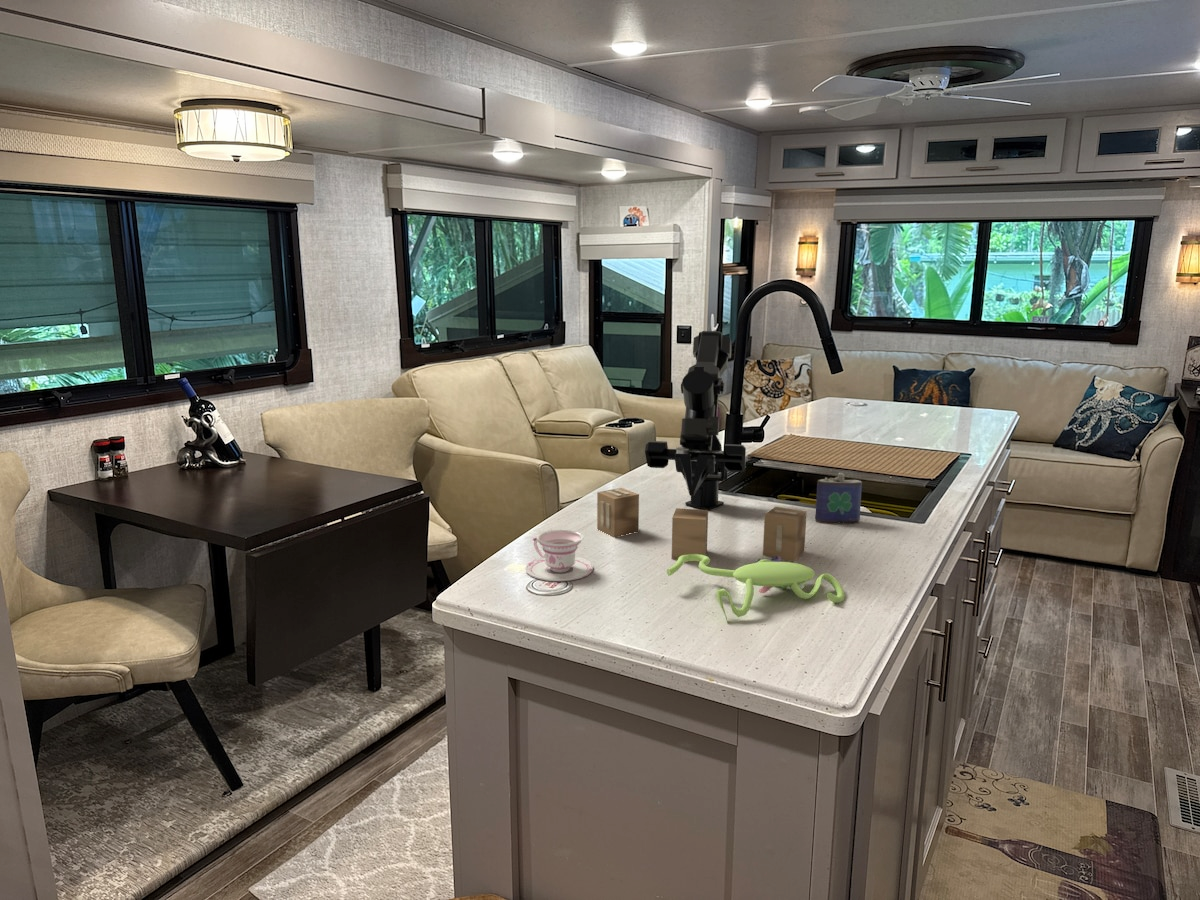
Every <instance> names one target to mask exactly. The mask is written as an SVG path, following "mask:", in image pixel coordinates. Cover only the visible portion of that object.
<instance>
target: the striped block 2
mask: <svg viewBox="0 0 1200 900" xmlns="http://www.w3.org/2000/svg"><path fill="white" fill-rule="evenodd" d="M763 519H764V520H763V521H764V522H763V540H762V541H763V543H762V544H763V545H762V556H763V557H768V558H771V557H773V556H777V557H781V560H784V561H789V562H795V561H796V560H797V559H799V558H800V557H801V555H803V554H804V553H805V547H806V546H805V545H806V528H807V510H801V509H794V508H787V507H781V506H774V507H773V508H772V509H770V510H769V511H768V512H766V513H765V514H764V518H763Z"/></svg>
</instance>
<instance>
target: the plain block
mask: <svg viewBox="0 0 1200 900" xmlns="http://www.w3.org/2000/svg"><path fill="white" fill-rule="evenodd" d="M671 519H672V521H671V523H672V524H671V533H672V534H671V560H677V559H678V558H679V557H680V556H682V555H687V554H699V555H704V556H707V552H708V535H709V534H708V532H709V531H708V528H709V527H708V525H709V510H706V509H698V508H697V509H694V508H680V507H679V508H678V507H676V508H675V510H674V512H673V515H672V518H671Z"/></svg>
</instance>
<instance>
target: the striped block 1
mask: <svg viewBox="0 0 1200 900" xmlns="http://www.w3.org/2000/svg"><path fill="white" fill-rule="evenodd" d="M596 495H597V497H596V500H597V501H596V507H597V509H596V511H597V513H596V514H597V515H596V516H597V519H596V522H597V523H596V530H597V529H598V530H597V531H599V530H600V531H599V532H601V531H602V532H601V533H603V532H604V533H603V534H605V533H606V535H607V534H608V535H607V536H609V535H610V537H612V538H614V537H615V538H619V537H618V536H620V537H622V536H621V535H624V536H627V535H626V534H629V533H633V534H635V533H634V532H638V533H639V527H640V526H639V521H640V520H639V519H640V516H639V515H640V512H639V511H640V494H639V493H637V492H634V491H631V490H628V489H625V488H623V487H619V488H612V489H608V490H602V491H597V494H596ZM629 535H630V534H629Z"/></svg>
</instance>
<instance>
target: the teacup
mask: <svg viewBox="0 0 1200 900" xmlns="http://www.w3.org/2000/svg"><path fill="white" fill-rule="evenodd" d="M584 537H585V536H584V534H582V533H580V532H577V531H573V530H569V529H568V530H566V529H565V530H564V529H553V530H551V529H550V530H546V531H542V532H539V533H537V534H536V536H535V537H534V538H532V540H533V541H534V542H533V546H534V549H535V551H536V552H537V554H538V555H539V556H540V557H539V558H537V559H536V558H535V559H533V560H532V561H530V562H529V563H527V564H526V567H525V572H526V574H528V575H529V576H530V577H531V578H535V579H537V580H541V581H547V582H549V581H550V582H569V581H575V580H579V579H582V578H585V577H587V576H589V575H590V574H592V573H593V569H594V565H593V563H592V562H591V561H589V560H588V559H585V558H581V557H579V556H576V552H577V549H578V548H579V547H578V545H580V544H581V542H582V541H583V540H584ZM537 543H539V545H541V546H542V548H541V549H542V550H543V552H544V554H543V552H541V550H540V549H539V546H538V544H537ZM547 568H550V570H551V571H552V572H554V573H552V572H548V571H547ZM571 568H572V570H571V571H570V569H571ZM568 571H570V572H568Z"/></svg>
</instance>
